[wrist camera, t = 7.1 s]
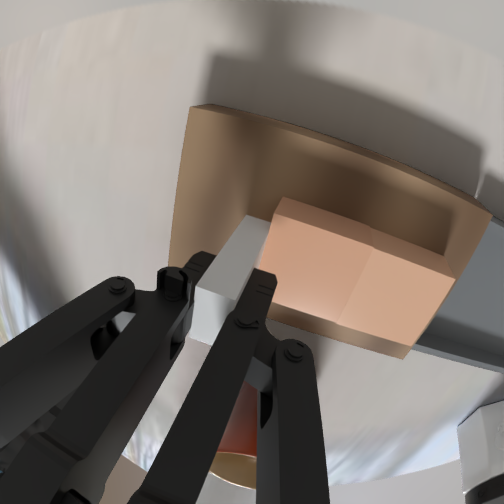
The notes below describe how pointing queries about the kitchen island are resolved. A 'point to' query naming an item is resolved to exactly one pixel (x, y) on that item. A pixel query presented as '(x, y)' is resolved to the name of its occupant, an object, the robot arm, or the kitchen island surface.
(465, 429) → the jar
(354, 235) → the tile
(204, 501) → the bottle
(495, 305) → the tray
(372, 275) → the tile
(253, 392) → the mug
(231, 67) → the kitchen island surface
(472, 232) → the board
